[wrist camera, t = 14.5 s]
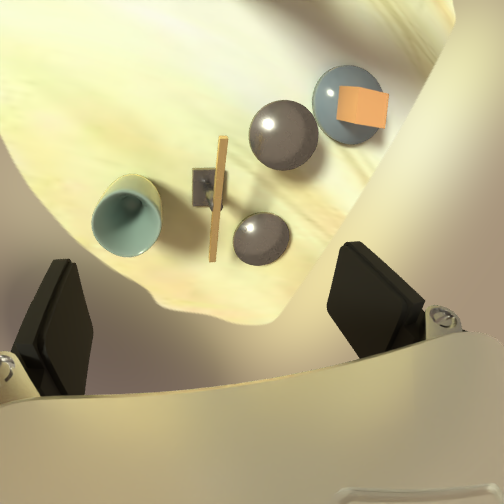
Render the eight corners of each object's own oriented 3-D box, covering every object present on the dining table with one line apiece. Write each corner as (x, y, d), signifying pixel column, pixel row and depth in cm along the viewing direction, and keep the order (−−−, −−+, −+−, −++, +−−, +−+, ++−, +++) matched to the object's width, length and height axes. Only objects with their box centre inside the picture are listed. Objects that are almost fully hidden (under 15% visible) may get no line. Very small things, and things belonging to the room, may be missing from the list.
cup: (173, 192, 41) (176, 220, 32) (138, 233, 42) (132, 270, 34) (130, 156, 37) (120, 175, 28) (95, 200, 38) (78, 230, 30)
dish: (315, 58, 36) (319, 58, 35) (383, 75, 39) (388, 75, 38) (308, 139, 42) (311, 140, 41) (375, 146, 45) (379, 148, 44)
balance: (194, 95, 35) (205, 94, 26) (300, 102, 39) (342, 107, 29) (192, 265, 47) (202, 312, 37) (282, 258, 50) (310, 300, 41)
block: (339, 85, 38) (359, 86, 34) (368, 91, 39) (388, 94, 35) (336, 119, 40) (355, 123, 36) (364, 123, 41) (384, 128, 37)
